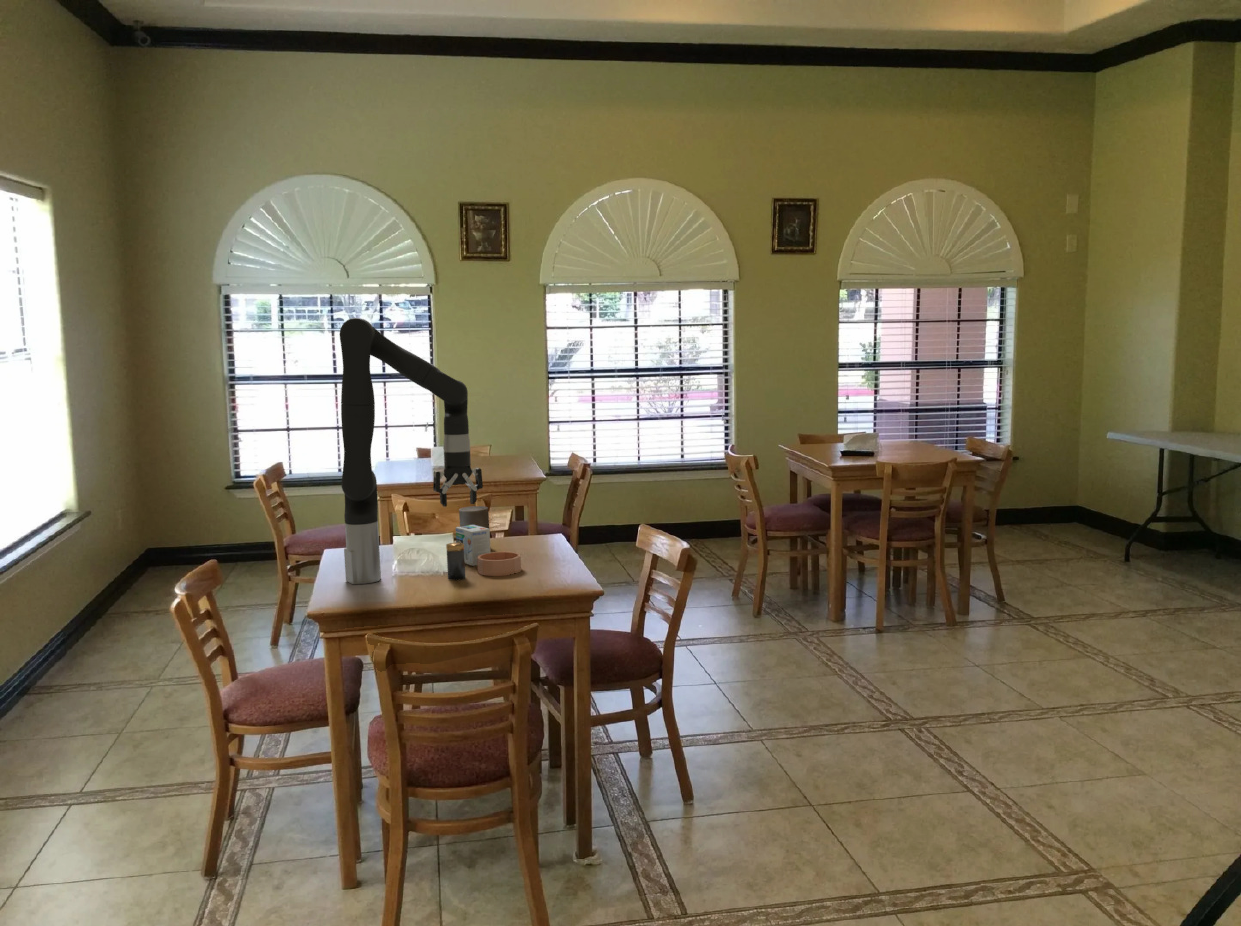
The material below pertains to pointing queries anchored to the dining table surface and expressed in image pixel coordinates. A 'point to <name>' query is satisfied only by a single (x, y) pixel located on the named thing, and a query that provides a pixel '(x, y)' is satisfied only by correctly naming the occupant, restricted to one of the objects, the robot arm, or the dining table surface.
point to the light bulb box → (473, 542)
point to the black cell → (455, 561)
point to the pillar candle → (474, 516)
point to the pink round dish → (499, 563)
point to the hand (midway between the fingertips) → (458, 505)
